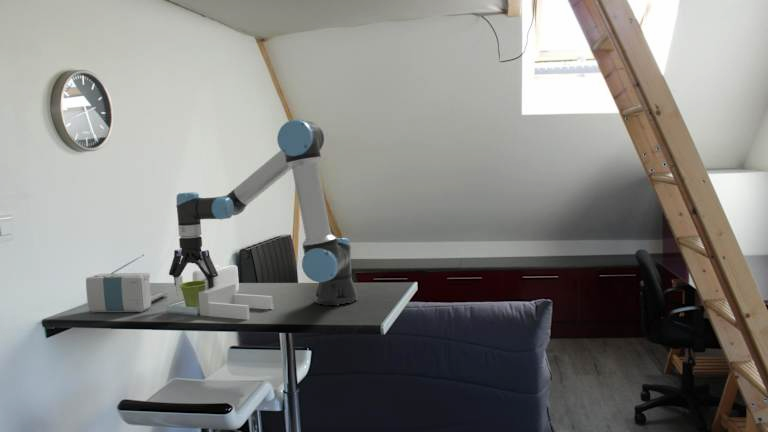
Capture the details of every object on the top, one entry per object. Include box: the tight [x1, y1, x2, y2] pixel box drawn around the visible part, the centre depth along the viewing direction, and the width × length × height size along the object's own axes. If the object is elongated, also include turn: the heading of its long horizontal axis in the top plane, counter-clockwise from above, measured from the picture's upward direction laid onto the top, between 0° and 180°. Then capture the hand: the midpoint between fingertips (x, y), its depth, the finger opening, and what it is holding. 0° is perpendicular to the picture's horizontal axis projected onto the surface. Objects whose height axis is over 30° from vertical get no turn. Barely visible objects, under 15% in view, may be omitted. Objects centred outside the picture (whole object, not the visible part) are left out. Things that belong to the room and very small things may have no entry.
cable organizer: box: [191, 264, 240, 294], centre depth 227 cm, size 15×11×12 cm
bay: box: [198, 284, 274, 321], centre depth 202 cm, size 20×14×8 cm
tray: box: [166, 299, 201, 317], centre depth 208 cm, size 13×13×2 cm
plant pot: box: [179, 280, 205, 308], centre depth 207 cm, size 9×9×9 cm
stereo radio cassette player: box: [85, 254, 152, 314], centre depth 210 cm, size 21×8×20 cm, turn 82°
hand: (194, 296), depth 208 cm, fingers open, 13 cm apart
